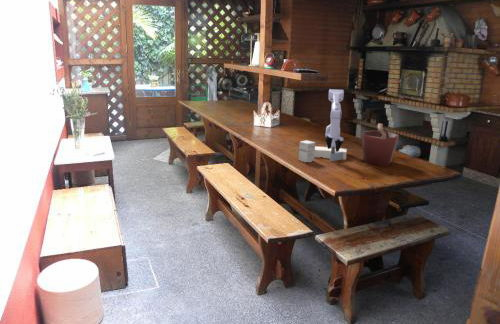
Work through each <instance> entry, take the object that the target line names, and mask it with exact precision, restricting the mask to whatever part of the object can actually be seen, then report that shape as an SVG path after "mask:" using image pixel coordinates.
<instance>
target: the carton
mask: <svg viewBox="0 0 500 324" xmlns="http://www.w3.org/2000/svg"><path fill="white" fill-rule="evenodd" d="M347 150H348V149H347V148H342V147H340V149H339V151H336V148H335V153H336V152H342V151H343V159H342V160H347V154H348V153H347ZM330 153H331V148H330V149H328V148H327V146H316V145H315V155H314V158H320V157H323V158H322V159H330Z"/></svg>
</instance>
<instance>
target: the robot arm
mask: <svg viewBox="0 0 500 324" xmlns="http://www.w3.org/2000/svg"><path fill="white" fill-rule="evenodd" d="M344 94H345V91H344V89H331V88H329V90H328V101H329V102H331V110H330V124H329V125H327V126H326V128H325V135H324V136H325V137H324V140H325V143H326V147H327V148H328V149H330V148H331V147H335V148H336V151H339V149H340V148H341V147H342V144H343V143H344V137H343V136H341V119H342V107H341V103H340V102H342V101H343V100H344Z"/></svg>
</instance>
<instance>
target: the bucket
mask: <svg viewBox="0 0 500 324" xmlns="http://www.w3.org/2000/svg"><path fill="white" fill-rule="evenodd" d="M383 125H384V124H383V123H378V124H377V130H367V131H362V132H361V137H360V138H361V146H362V157H363V162H365V164H368V165H371V166H372V165H373V166H378V167H379V166H382V167H384V166H387V167H388V166H389V165H390V164H391V162H392V161H393V156H394V153H395V150H396V147H397V146H398V145H397V144H398V141H399V138H400V137H399V136H400V134H397V133H394V132H391V131H385V130H384V128H383Z"/></svg>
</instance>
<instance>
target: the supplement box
mask: <svg viewBox="0 0 500 324" xmlns="http://www.w3.org/2000/svg"><path fill="white" fill-rule="evenodd" d="M315 146H316V142H315V141H311V140H306V139H305V140H301V141H299V148H298V149H299V150H298V151H299V153H298V161H299V160H300V162H303V163H306V162H309V163H312V161H313V162H315V157H314V155H315Z"/></svg>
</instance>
